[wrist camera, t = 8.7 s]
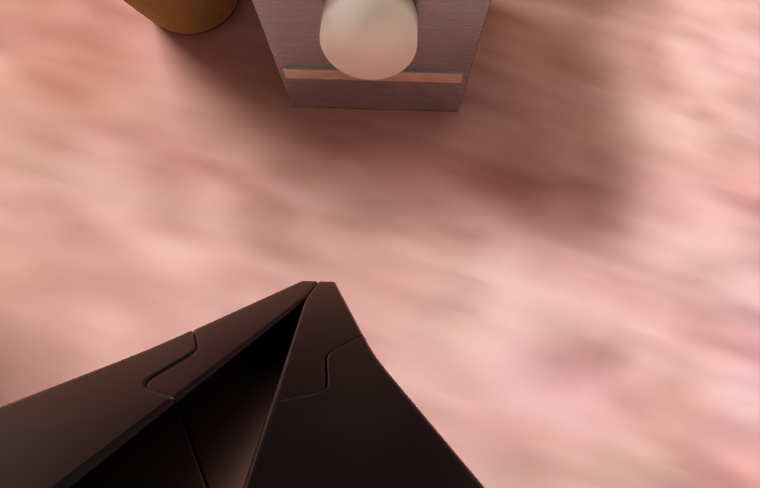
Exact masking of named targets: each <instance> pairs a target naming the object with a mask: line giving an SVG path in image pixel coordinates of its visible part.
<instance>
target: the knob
mask: <svg viewBox="0 0 760 488" xmlns="http://www.w3.org/2000/svg"><path fill="white" fill-rule="evenodd" d="M417 34H418V15H417V10H416V7H415V5H414V2H413V1H412V0H325V2H324V5H323V10H322V18H321V27H320V45H321V48H322V51H323V53H324V55H325V56H326V58H327V59H328V60H329V62H330V63H331V64H332V65H333V66H334V67H336V68H337V69H338V70H340V71H342V72H343V73H345V74H347V75H350V76H353V77H356V78H360V79H367V80H377V79H384V78H388V77H391V76H394V75H396V74H398V73H399V72H401V71H403V70H404V69H405V68H406V67H407V66H408V65H409V64H410V63H411V61H412V60H413V58H414V56H415V54H416V50H417Z"/></svg>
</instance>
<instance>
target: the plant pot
mask: <svg viewBox="0 0 760 488" xmlns="http://www.w3.org/2000/svg"><path fill="white" fill-rule="evenodd" d="M124 1H125V2H126V3H128V4H129V5H130V6H132V7H133V8H134V9H136V10H137V11H139V12H140V13H141V14H143V15H144V16H146V17H147V18H148V19H150V20H151V21H153V22H154V23H155V24H157V25H158V26H160V27H161V28H163V29H165V30H168V31H170V32H174V33H180V34H194V33H200V32H204V31H207V30H209V29H212V28H214V27H216V26H217V25H219V24H220V23H222V22H223V21H224V20H226V19H227V18H228V17H229V16H230V15H231V13H232V12H233V11H234V9H235V7H236V4H237V2H238V0H124Z"/></svg>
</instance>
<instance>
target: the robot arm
mask: <svg viewBox="0 0 760 488" xmlns="http://www.w3.org/2000/svg"><path fill="white" fill-rule="evenodd" d="M0 488H484V486H483V485H482V484H481V483H480V482H479V480H478V479H477V478H476V477H475V476H474V474H473V473H472V472H471V471H470V470H469V468H468V467H467V466H466V465H465V464H464V463H463V461H462V460H461V459H460V458H459V457H458V455H457V454H456V453H455V452H454V451H453V449H452V448H451V447H450V446H449V445H448V443H447V442H446V441H445V440H444V439H443V437H442V436H441V435H440V434H439V433H438V432H437V430H436V429H435V428H434V427H433V426H432V424H431V423H430V422H429V421H428V420H427V418H426V417H425V416H424V415H423V414H422V412H421V411H420V410H419V409H418V408H417V407H416V405H415V404H414V403H413V402H412V401H411V399H410V398H409V397H408V396H407V395H406V393H405V392H404V391H403V390H402V389H401V387H400V386H399V385H398V384H397V383H396V381H395V380H394V379H393V378H392V377H391V376H390V374H389V373H388V372H387V371H386V369H385V368H384V367H383V366H382V364H381V363H380V362H379V360H378V359H377V358H376V356H375V355H374V353H373V351H372V350H371V348H370V346H369V345H368V343H367V341H366V339H365V337H364V336H363V334H362V333H361V331H360V329H359V327H358V325H357V323H356V321H355V319H354V317H353V316H352V314H351V312H350V310H349V308H348V306H347V304H346V302H345V301H344V299H343V297H342V295H341V293H340V291H339V289H338V287H337V285H336V284H335V283H334V282H319V283H317V282H316V281H302V282H299V283H297V284H295V285H293V286H291V287H288V288H286V289H284V290H282V291H280V292H277V293H275V294H273V295H271V296H268V297H266V298H264V299H262V300H260V301H257V302H255V303H253V304H251V305H249V306H246V307H244V308H242V309H240V310H238V311H235V312H233V313H231V314H229V315H227V316H224V317H222V318H220V319H218V320H215V321H213V322H211V323H209V324H207V325H204V326H202V327H200V328H198V329H196V330H194V332H192V331H190V332H187V333H185V334H183V335H181V336H179V337H176V338H174V339H172V340H169V341H167V342H165V343H163V344H160V345H158V346H156V347H153V348H151V349H149V350H146V351H144V352H141V353H139V354H136V355H134V356H131V357H129V358H126V359H124V360H121V361H119V362H116V363H113V364H111V365H108V366H106V367H103V368H100V369H98V370H95V371H93V372H90V373H88V374H85V375H82V376H80V377H77V378H75V379H72V380H70V381H67V382H64V383H62V384H59V385H57V386H54V387H51V388H49V389H46V390H44V391H41V392H39V393H36V394H33V395H31V396H28V397H26V398H23V399H20V400H18V401H15V402H13V403H10V404H8V405H5V406H2V407H0Z"/></svg>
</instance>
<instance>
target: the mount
mask: <svg viewBox="0 0 760 488" xmlns="http://www.w3.org/2000/svg"><path fill="white" fill-rule="evenodd" d="M252 1H253V4H254V7H255V9H256V12H257V15H258V17H259V20H260V23H261V25H262V28H263V31H264V33H265V36H266V39H267V41H268V44H269V47H270V49H271V52H272V55H273V57H274V60H275V63H276V65H277V68H278V71H279V73H280V76H281V79H282V82H283V84H284V87H285V90H286V92H287V95H288V98H289V100H290V103H291V106H294V107H328V108H362V109H395V110H429V111H458V110H459V106H460V103H461V100H462V96H463V93H464V89H465V86H466V83H467V79H468V76H469V72H470V69H471V66H472V62H473V59H474V56H475V52H476V49H477V45H478V42H479V39H480V35H481V32H482V28H483V25H484V22H485V18H486V15H487V12H488V8H489V5H490V1H491V0H412V1H413V2H414V5H415V7H416V10H417V15H418V34H417V50H416V54H415V56H414V58H413V60H412V61H411V63H410V64H409V65H408V66H407V67H406V68H405V69H404V70H403V71H401V72H399V73H398V74H396V75H394V76H391V77H388V78H384V79H377V80H367V79H360V78H356V77H353V76H350V75H347V74H345V73H343V72H342V71H340V70H338V69H337V68H336V67H334V66H333V65H332V64H331V63H330V62H329V60H328V59H327V58H326V56H325V55H324V53H323V51H322V48H321V45H320V27H321V18H322V10H323V5H324V2H325V0H252Z"/></svg>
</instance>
